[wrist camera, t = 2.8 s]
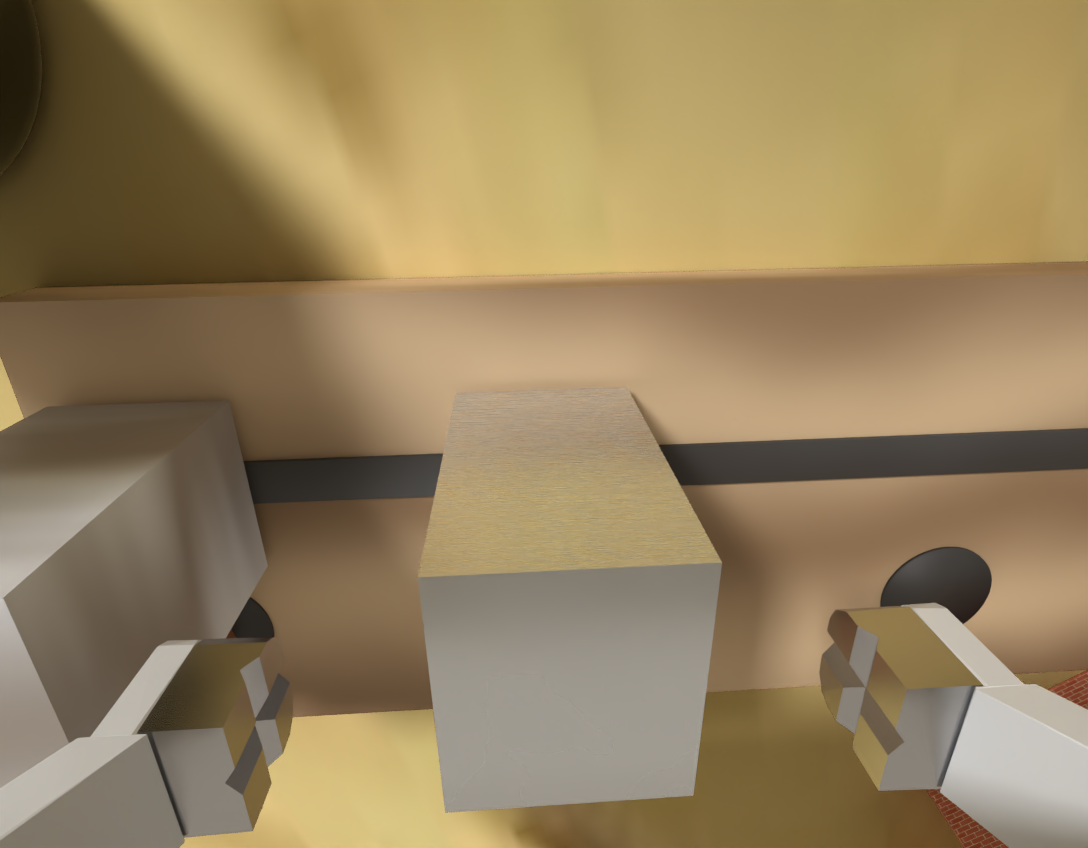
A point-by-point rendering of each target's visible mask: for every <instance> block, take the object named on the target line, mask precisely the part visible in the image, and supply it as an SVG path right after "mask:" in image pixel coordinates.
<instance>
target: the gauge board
mask: <svg viewBox="0 0 1088 848" xmlns="http://www.w3.org/2000/svg"><path fill="white" fill-rule="evenodd" d="M0 356H1V359H2V362H3V364H4V367H5V370H6V372H7V375H8V377H9V380H10V383H11V385H12V388H13V390H14V393H15V396H16V398H17V401H18V404H19V406H20V409H21V411H22V414H23V417H24V419H23V420H21V421H19V422H17V423H15V424H13V425H12V426H10V427H8V428H6V429H4V430H2V431H0V788H1V787H3V786H4V785H6V784H7V783H9V782H10V781H12V780H14V779H15V778H17V777H18V776H20V775H21V774H23V773H24V772H26V771H27V770H29V769H31V768H32V767H34V766H35V765H37V764H38V763H40V762H41V761H43V760H44V759H46V758H47V757H49V756H51V755H52V754H54V753H55V752H57V751H58V750H60V749H61V748H63V747H64V746H66V745H68V744H69V743H71V742H72V741H74V740H75V739H77V738H85V737H90V736H91V735H92V734H93V732H94V731H95V730H96V728H97V727H98V726H99V724H100V723H101V722H102V720H103V719H104V718H105V716H106V715H107V713H108V712H109V711H110V709H111V708H112V707H113V705H114V704H115V703H116V701H117V700H118V699H119V697H120V696H121V695H122V693H123V692H124V691H125V689H126V688H127V687H128V685H129V684H130V682H131V681H132V680H133V678H134V677H135V676H136V674H137V673H138V672H139V670H140V669H141V668H142V666H143V665H144V664H145V662H146V661H147V660H148V658H149V657H150V656H151V654H152V653H153V651H154V650H155V649H156V648H157V647H158V646H159V645H161V644H163V643H164V642H166V641H171V640H203V639H221V638H260V637H274V638H276V639H278V640H279V641H280V643H281V647H282V651H283V654H284V658H285V659H284V661H283V664H282V666H281V668H280V670H279V674H280V675H282V676H283V677H284V678H285V679H286V680H287V681H289V682H290V685H291V689H292V694H293V717H304V716H321V715H337V714H354V713H371V712H387V711H404V710H421V709H433V703H432V694H431V686H430V677H429V669H428V660H427V652H426V643H425V635H424V626H423V618H422V609H421V601H420V592H419V584H418V574H419V569H420V564H421V559H422V554H423V550H424V545H425V540H426V535H427V530H428V525H429V520H430V516H431V511H432V506H433V501H434V496H435V491H436V486H437V482H438V477H439V472H440V467H441V462H442V457H443V452H444V448H445V443H446V438H447V433H448V428H449V423H450V418H451V414H452V409H453V404H454V399H455V394H456V393H458V392H488V391H517V390H546V389H575V388H605V387H627V388H628V390H629V392H630V394H631V396H632V398H633V399H634V401H635V403H636V405H637V407H638V409H639V410H640V412H641V414H642V416H643V418H644V420H645V421H646V423H647V425H648V427H649V429H650V431H651V433H652V434H653V436H654V438H655V440H656V442H657V444H658V445H659V447H660V449H661V451H662V453H663V455H664V456H665V458H666V460H667V462H668V464H669V466H670V468H671V469H672V471H673V473H674V475H675V477H676V479H677V480H678V482H679V484H680V486H681V488H682V490H683V491H684V493H685V495H686V497H687V499H688V501H689V502H690V504H691V506H692V508H693V510H694V512H695V514H696V515H697V517H698V519H699V521H700V523H701V525H702V526H703V528H704V530H705V532H706V534H707V536H708V537H709V539H710V541H711V543H712V545H713V547H714V548H715V550H716V552H717V554H718V556H719V558H720V560H721V561H722V567H721V576H720V584H719V592H718V600H717V608H716V616H715V624H714V633H713V641H712V649H711V657H710V665H709V673H708V681H707V690H706V692H721V691H738V690H755V689H771V688H788V687H805V686H821V682H820V675H819V670H820V664H821V658H822V654H823V653H824V652H825V651H826V650H827V649H828V648H829V647H830V646H831V645H832V644H833V643H834V641H833V639H832V638H831V636H830V635H829V633H828V632H827V628H828V624H829V620H830V617H831V615H832V614H833V613H834V611H835V610H836V609H853V608H871V607H889V606H902V605H910V604H924V603H937V604H939V605H941V606H944V607H945V608H947V609H948V610H949V611H950V612H951V613H952V614H953V615H954V616H955V617H956V618H957V619H958V620H959V621H960V622H961V623H962V624H963V625H964V626H965V627H966V628H967V629H968V630H969V631H970V632H971V633H972V634H973V635H974V636H975V637H976V638H977V639H978V640H979V641H980V642H982V643H983V644H984V645H985V646H986V647H987V648H988V649H989V650H990V651H991V652H992V653H993V654H994V655H995V656H996V657H997V658H998V659H999V660H1000V661H1001V662H1002V663H1003V664H1004V665H1005V666H1006V667H1007V668H1008V669H1009V670H1010V671H1011V672H1012V673H1013V674H1022V673H1038V672H1055V671H1072V670H1088V262H1051V263H1011V264H970V265H930V266H890V267H850V268H809V269H769V270H729V271H689V272H648V273H608V274H568V275H527V276H487V277H447V278H407V279H366V280H326V281H286V282H246V283H205V284H165V285H125V286H85V287H44V288H33V289H30V290H26V291H22V292H19V293H15V294H11V295H8V296H4V297H0Z"/></svg>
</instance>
